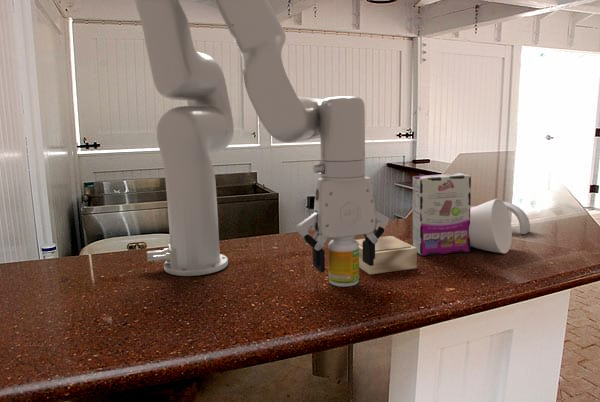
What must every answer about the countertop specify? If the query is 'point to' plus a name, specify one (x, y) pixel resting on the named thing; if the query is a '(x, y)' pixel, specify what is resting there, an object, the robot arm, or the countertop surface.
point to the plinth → (389, 256)
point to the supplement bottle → (343, 261)
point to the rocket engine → (490, 227)
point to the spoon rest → (520, 215)
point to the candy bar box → (441, 213)
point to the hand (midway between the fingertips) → (344, 266)
